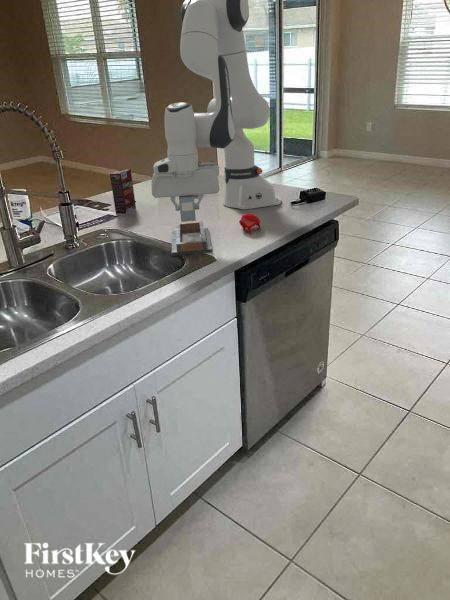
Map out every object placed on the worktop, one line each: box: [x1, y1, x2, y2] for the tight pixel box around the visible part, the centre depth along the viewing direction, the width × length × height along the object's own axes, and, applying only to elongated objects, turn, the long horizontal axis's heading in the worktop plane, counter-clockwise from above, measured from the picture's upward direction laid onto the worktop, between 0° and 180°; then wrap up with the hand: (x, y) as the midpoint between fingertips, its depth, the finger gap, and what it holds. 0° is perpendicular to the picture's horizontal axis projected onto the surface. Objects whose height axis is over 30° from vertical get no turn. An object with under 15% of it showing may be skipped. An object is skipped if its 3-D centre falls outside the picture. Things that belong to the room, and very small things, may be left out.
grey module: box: [178, 195, 197, 223], centre depth 143 cm, size 4×7×7 cm, turn 5°
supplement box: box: [109, 168, 137, 217], centre depth 179 cm, size 9×5×16 cm, turn 163°
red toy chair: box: [238, 212, 262, 234], centre depth 155 cm, size 8×6×6 cm
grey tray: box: [171, 220, 213, 257], centre depth 148 cm, size 12×20×4 cm, turn 5°
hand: (187, 209), depth 144 cm, fingers closed on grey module, 4 cm apart
